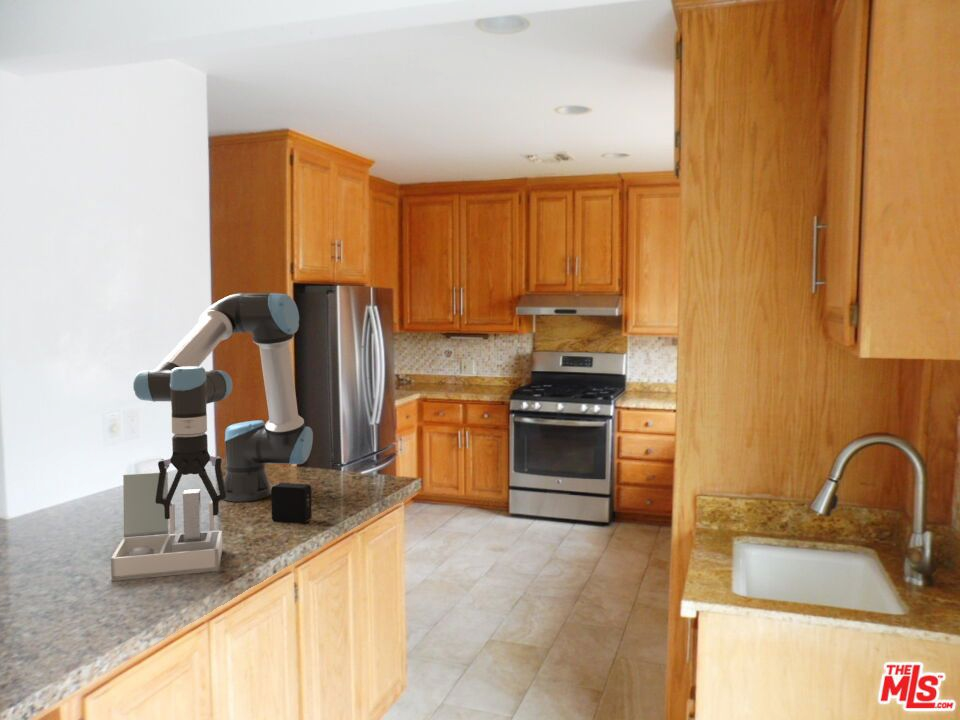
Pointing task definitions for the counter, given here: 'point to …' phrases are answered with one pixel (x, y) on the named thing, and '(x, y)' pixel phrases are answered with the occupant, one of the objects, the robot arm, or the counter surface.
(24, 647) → the counter surface
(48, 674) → the counter surface
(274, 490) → the electronic device
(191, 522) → the rectangular gray bar
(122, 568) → the housing
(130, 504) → the lid
